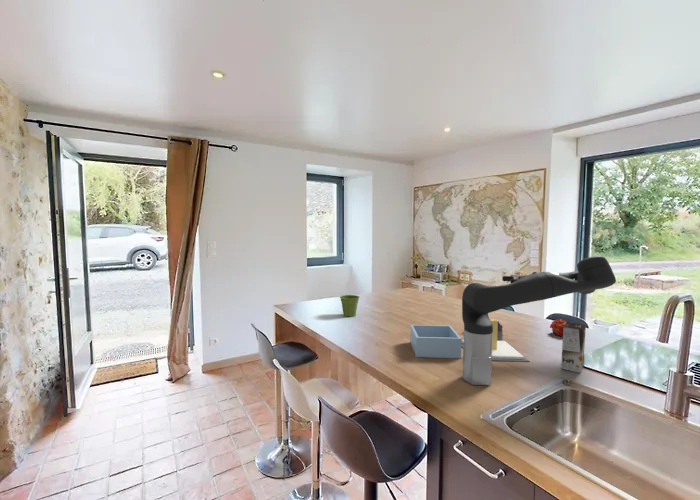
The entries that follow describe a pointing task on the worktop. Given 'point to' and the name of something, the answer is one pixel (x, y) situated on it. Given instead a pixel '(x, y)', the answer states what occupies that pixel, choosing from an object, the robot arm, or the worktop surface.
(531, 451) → the worktop surface
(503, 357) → the lid
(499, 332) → the geode
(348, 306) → the plant pot
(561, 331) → the dragon fruit
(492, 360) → the mat
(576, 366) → the coffee box
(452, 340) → the tub
